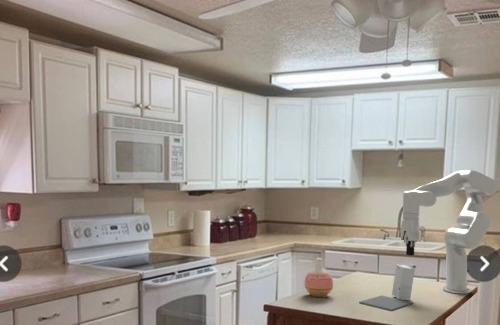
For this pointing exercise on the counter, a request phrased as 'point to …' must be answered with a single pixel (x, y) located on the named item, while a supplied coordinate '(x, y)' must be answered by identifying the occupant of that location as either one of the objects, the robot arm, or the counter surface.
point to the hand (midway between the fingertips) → (410, 255)
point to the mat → (386, 303)
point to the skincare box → (403, 282)
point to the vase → (318, 281)
